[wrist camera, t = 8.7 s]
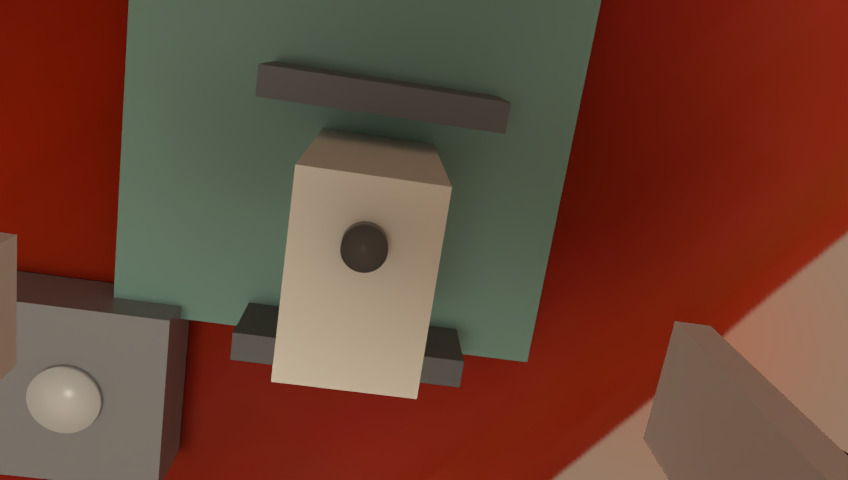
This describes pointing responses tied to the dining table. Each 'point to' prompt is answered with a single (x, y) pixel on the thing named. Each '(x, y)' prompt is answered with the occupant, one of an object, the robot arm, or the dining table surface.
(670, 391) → the robot arm
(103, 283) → the button
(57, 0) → the dining table surface
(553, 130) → the board
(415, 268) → the plug
